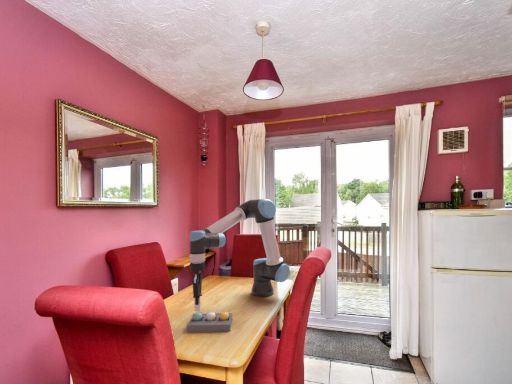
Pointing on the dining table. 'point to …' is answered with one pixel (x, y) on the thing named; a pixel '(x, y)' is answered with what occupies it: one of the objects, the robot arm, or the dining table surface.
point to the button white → (210, 316)
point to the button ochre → (224, 316)
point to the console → (209, 324)
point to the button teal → (197, 316)
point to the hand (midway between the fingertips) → (197, 310)
